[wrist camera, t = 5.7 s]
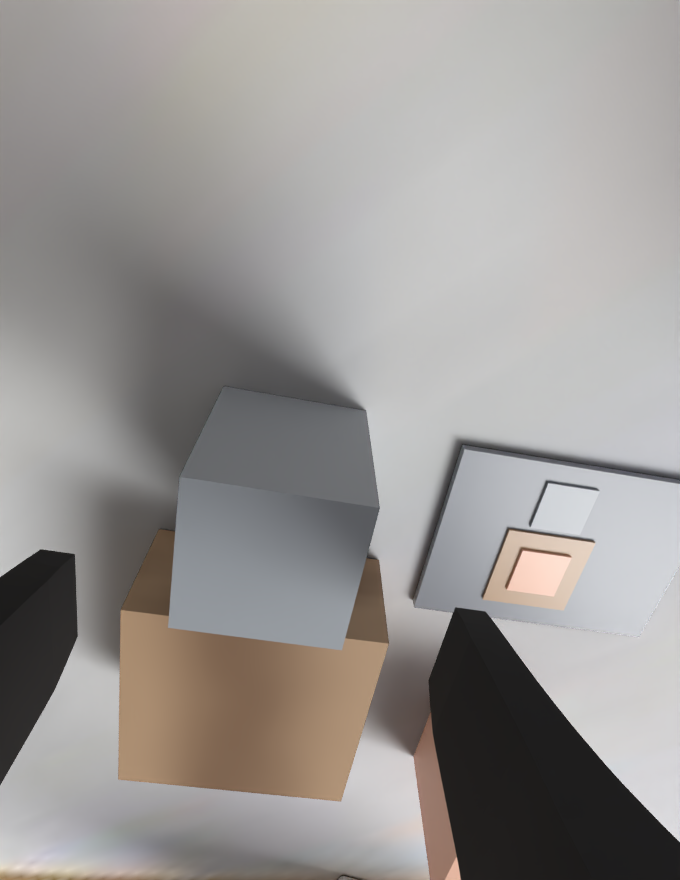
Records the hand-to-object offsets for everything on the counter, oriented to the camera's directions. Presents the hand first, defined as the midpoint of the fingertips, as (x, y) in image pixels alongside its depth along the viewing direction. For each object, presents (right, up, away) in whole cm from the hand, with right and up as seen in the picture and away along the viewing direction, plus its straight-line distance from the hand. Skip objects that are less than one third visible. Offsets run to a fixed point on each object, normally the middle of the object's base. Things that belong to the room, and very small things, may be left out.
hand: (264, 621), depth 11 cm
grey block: (0, +3, +6) cm, 6 cm away
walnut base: (-1, -3, +8) cm, 9 cm away
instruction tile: (+8, 0, +7) cm, 11 cm away
